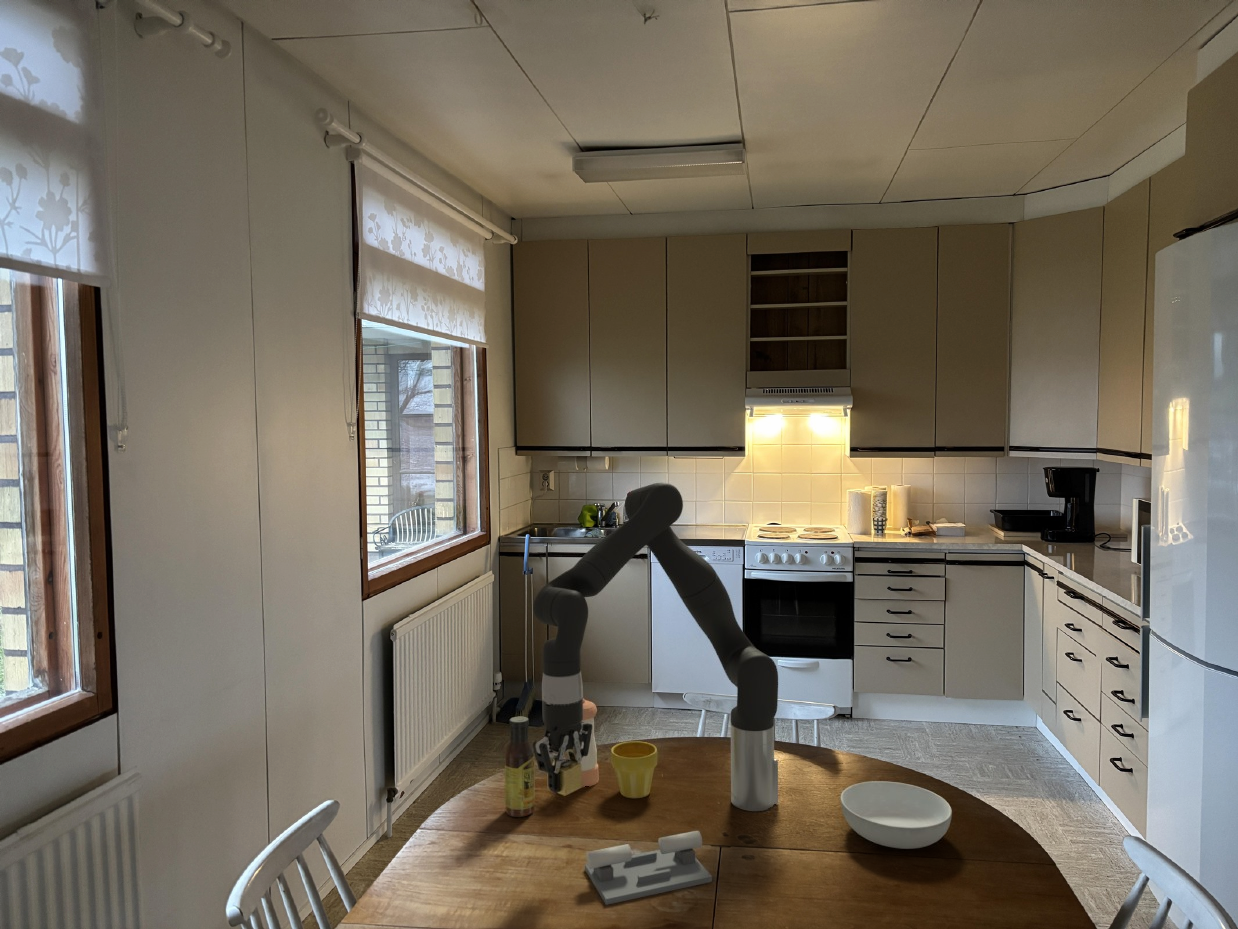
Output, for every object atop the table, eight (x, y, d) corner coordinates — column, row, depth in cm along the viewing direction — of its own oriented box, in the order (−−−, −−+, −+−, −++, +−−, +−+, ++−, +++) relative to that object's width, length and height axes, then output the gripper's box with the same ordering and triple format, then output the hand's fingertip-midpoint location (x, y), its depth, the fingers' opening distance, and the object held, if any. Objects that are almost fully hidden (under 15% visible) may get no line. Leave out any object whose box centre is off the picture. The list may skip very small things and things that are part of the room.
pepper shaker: (598, 787, 186) (596, 704, 185) (565, 787, 186) (564, 704, 185) (599, 773, 193) (598, 693, 192) (568, 774, 193) (567, 693, 192)
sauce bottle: (529, 820, 170) (528, 726, 169) (501, 817, 172) (499, 724, 171) (539, 806, 177) (537, 715, 176) (511, 803, 178) (509, 713, 177)
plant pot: (612, 782, 188) (611, 740, 188) (657, 782, 188) (656, 740, 187) (610, 802, 178) (609, 758, 177) (658, 802, 178) (657, 758, 177)
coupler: (564, 781, 155) (563, 754, 155) (581, 787, 152) (581, 760, 152) (547, 789, 152) (546, 762, 151) (564, 795, 149) (564, 768, 149)
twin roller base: (688, 849, 158) (687, 819, 157) (715, 880, 146) (715, 849, 146) (581, 870, 150) (580, 839, 150) (601, 905, 139) (601, 872, 139)
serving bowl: (968, 834, 162) (968, 799, 162) (925, 877, 147) (925, 839, 147) (869, 802, 177) (869, 770, 176) (820, 838, 161) (820, 804, 161)
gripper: (574, 682, 159) (576, 768, 160) (520, 702, 148) (522, 794, 149) (603, 689, 154) (605, 778, 155) (549, 710, 143) (551, 806, 144)
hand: (564, 786), depth 152 cm, fingers closed on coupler, 4 cm apart
